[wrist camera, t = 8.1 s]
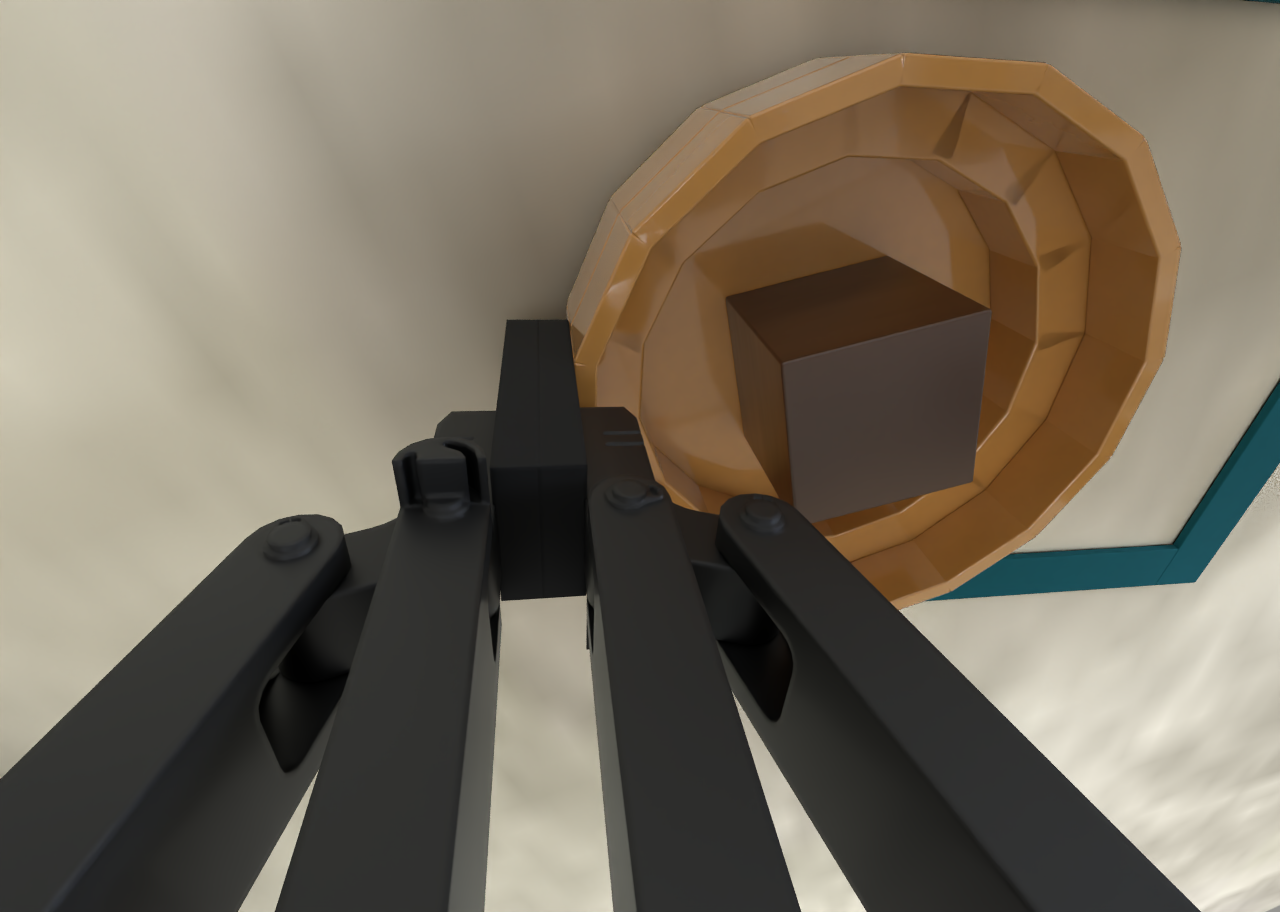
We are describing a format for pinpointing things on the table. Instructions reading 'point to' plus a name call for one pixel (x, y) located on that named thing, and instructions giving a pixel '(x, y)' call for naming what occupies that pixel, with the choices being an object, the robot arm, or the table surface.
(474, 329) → the table surface
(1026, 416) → the bowl
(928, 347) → the walnut block
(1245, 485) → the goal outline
